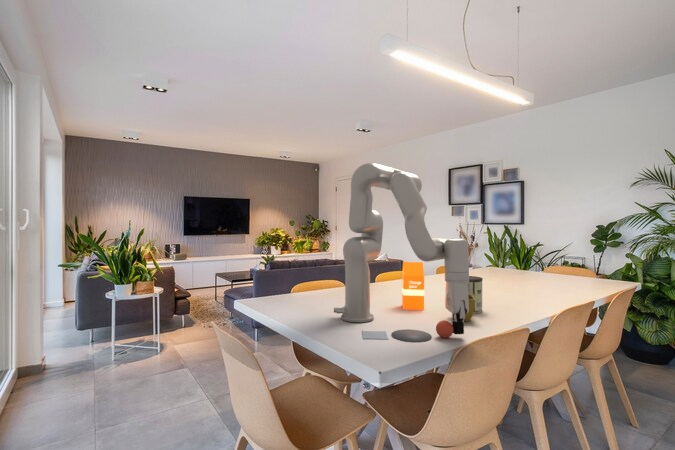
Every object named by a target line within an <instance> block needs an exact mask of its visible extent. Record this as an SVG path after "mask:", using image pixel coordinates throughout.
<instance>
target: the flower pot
mask: <svg viewBox="0 0 675 450" xmlns="http://www.w3.org/2000/svg"><path fill="white" fill-rule="evenodd" d="M468 298H469V312H468V313H467V314H465V319H464V322H470V321H471V319H472V317H473V316H474V314H475V313H474V307H475V298H474V297H473V296H472V295H468Z"/></svg>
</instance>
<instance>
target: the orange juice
mask: <svg viewBox="0 0 675 450" xmlns="http://www.w3.org/2000/svg"><path fill="white" fill-rule="evenodd" d="M424 270H425V269H424V261H403V262H402V274H401V275H402V277H401V278H402V280H401V281H402V287H401V293H402V295H401V299H402V300H401V301H402V303H401V306H402V308H403V309H402V310H415V311H416V310H419V311H421V310H422V311H423V310H425V273H424V272H425V271H424Z"/></svg>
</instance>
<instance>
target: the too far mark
mask: <svg viewBox="0 0 675 450" xmlns="http://www.w3.org/2000/svg"><path fill="white" fill-rule="evenodd" d="M361 333H362V339H363V340H389V336H388V334H387V332H386V330H381V331H380V330H378V331H376V330H375V331H374V330H372V331H371V330H369V331H368V330H362V331H361Z"/></svg>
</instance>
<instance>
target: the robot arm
mask: <svg viewBox="0 0 675 450" xmlns="http://www.w3.org/2000/svg"><path fill="white" fill-rule="evenodd" d="M422 186H423V185H422V179H420V177H419V176H418V175H417V174H414V173H411V172H406V171H403V170H399V169H397V168H393V167H390V166H385V165H383V164H379V163H374V162H369V163H368V162H366V163H363V164H361V165H360V166H358V167H357V168H356V169H355V171H353V174H352V176H351V180H350V201H349V211H348V212H349V214H348V226H349V227H348V228H349V229H350V231H351V232H353V233H356V234H361V236H353V237H350V238H348V239H347V240H346V241H345V242H344V244H343V247H342V255H343V259H344V270H345V271H344V273H345V274H344V275H345V276H344V277H345V278H344V279H345V285H344V286H345V289H344V291H345V294H344V295H345V297H344V299H345V300H344V303H345V304H344V305H343V306H342V307H333V313H334V314H335V313H336V314H338V315H339V314H341V315H340V316H341V318H340V319H342V320H343V321H345V322H349V323H367V322H372V321H373V320H374V319H375V315H374V314H372V313H371V310H370V309H371V271H370V266H369V263H368V261H371V260H375V259H376V258H378V256H379V255H380V254H381V251H382V243H383V234H384V233H383V232H384V220H383V217H382V215H381V213H380V212H379V211H377V210H375V209H373V201H374V197H373V192H372V187H375V188H381V189H385V190H389V191H391V193H392V195H393V198H394V199H395V201H396V203H397V205H398V207H399V209H400V211H401V213H402V216H403V219H404V230H405V235H406V238H407V241H408V244H409V245H410V247H411V249H412V251H413V253H414V254H415V256H416V257H417V258H418V260H421V262H425V263H427V262H429V263H430V262H434V261H440V260H444V281H445V300H444V305H445V306H444V307H445V310H447V311H448V312H450V313H451V320H452V322H451V324H452V326H453V329H454V331H453V334H454V335H464V334H465V329H464V328H465V325H464V324H465V321H464V319H465V314H467V313H468V312H469V298H468V287H467V282H469V276H470V266H469V265H470V263H469V261H470V260H469V259H470V258H469V257H470V255H469V254H470V253H469V242H468V240H467V239H465V238H439V237H433V238H432V236H431V235H430V233H429V231H428V228H427V225H426V221H425V216H426V214H427V210H428V207H427V204H426V202H425V200H424V198H423V197H422V194H421V191H422Z"/></svg>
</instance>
